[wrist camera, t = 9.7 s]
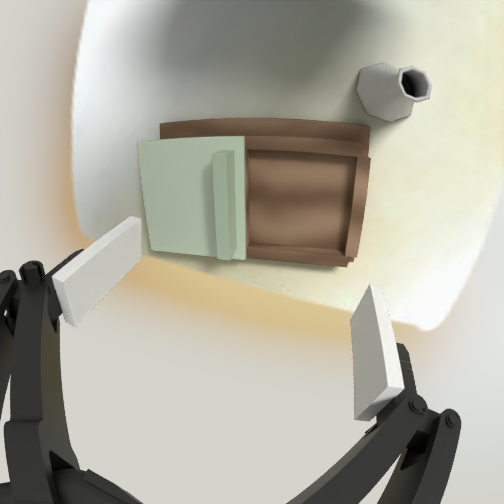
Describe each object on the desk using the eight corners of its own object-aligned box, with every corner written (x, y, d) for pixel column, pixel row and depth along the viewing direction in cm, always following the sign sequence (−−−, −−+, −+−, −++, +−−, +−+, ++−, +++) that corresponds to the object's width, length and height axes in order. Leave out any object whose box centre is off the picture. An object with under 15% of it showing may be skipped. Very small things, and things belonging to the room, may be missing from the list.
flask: (359, 121, 27) (379, 124, 19) (351, 62, 24) (367, 40, 15) (417, 123, 25) (455, 129, 17) (410, 65, 22) (445, 49, 14)
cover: (139, 141, 31) (123, 146, 28) (244, 136, 28) (236, 138, 25) (153, 248, 38) (140, 260, 35) (246, 257, 36) (239, 272, 32)
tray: (163, 123, 32) (153, 124, 30) (368, 126, 27) (372, 127, 25) (174, 241, 40) (166, 249, 38) (352, 258, 35) (354, 268, 33)
